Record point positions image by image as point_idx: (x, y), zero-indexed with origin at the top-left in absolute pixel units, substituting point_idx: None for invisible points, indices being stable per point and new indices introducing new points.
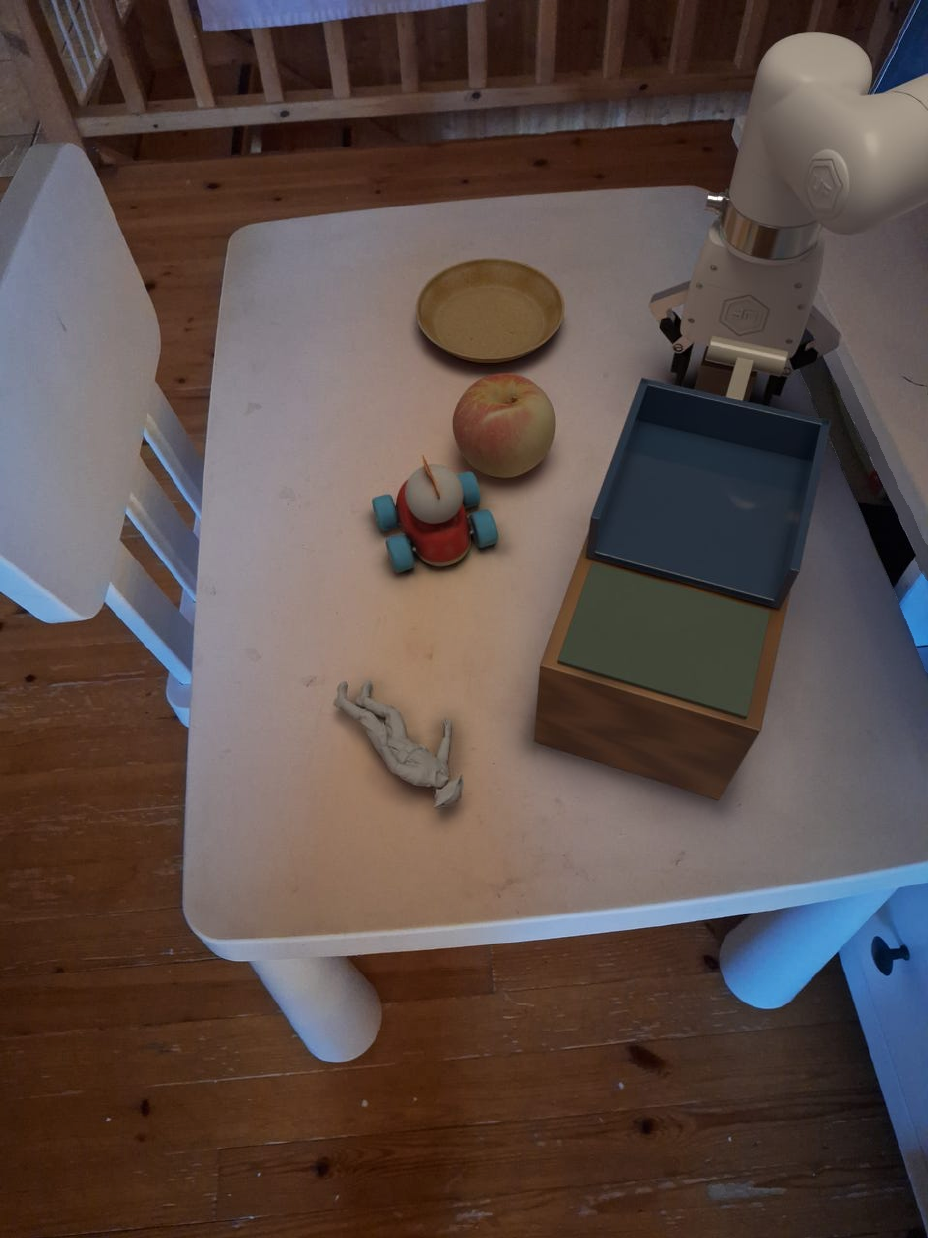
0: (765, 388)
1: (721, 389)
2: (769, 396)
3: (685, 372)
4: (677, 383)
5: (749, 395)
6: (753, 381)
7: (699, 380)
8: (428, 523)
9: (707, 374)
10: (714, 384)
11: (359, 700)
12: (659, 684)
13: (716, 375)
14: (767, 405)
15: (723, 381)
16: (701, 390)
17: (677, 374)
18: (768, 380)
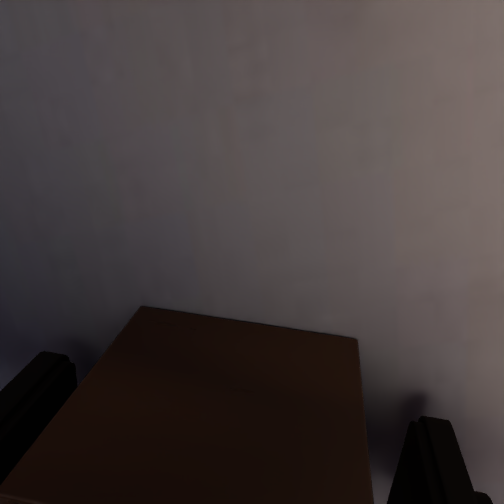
0: None
1: (224, 409)
2: (13, 393)
3: (417, 494)
4: (442, 434)
5: (80, 385)
6: (23, 465)
7: (351, 455)
8: None
9: (313, 499)
10: (263, 435)
11: None
12: None
13: (255, 495)
14: (41, 358)
15: (210, 455)
16: (326, 400)
17: (466, 483)
18: None
